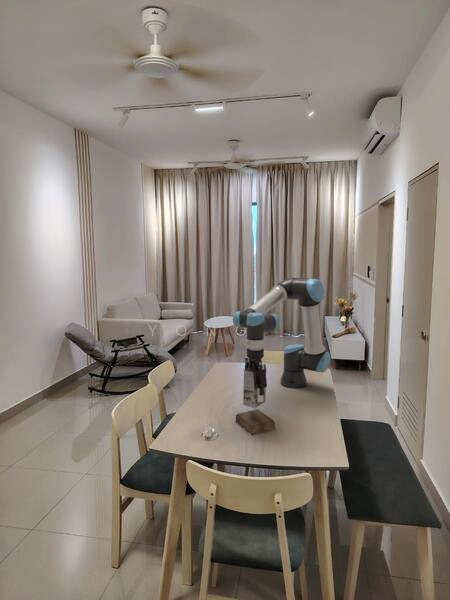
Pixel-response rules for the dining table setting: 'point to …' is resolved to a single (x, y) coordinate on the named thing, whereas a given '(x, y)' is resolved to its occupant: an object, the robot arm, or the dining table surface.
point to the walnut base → (255, 421)
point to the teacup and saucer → (209, 431)
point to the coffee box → (251, 388)
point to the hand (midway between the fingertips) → (254, 398)
